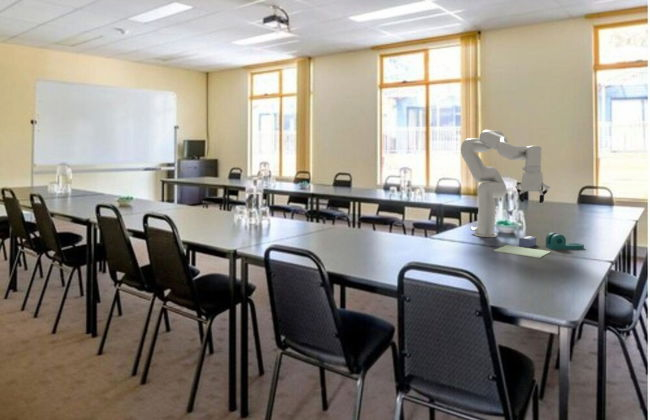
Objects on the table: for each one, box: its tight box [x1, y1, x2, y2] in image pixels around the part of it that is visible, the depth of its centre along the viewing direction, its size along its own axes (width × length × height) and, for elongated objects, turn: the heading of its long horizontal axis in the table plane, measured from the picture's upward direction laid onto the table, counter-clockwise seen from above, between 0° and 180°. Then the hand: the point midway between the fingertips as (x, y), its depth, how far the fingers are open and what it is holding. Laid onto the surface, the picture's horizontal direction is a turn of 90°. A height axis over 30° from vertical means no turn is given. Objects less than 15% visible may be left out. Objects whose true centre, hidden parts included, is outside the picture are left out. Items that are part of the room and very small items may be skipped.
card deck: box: [518, 235, 537, 248], centre depth 249 cm, size 6×9×5 cm, turn 136°
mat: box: [492, 244, 551, 259], centre depth 233 cm, size 22×18×1 cm
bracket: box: [545, 231, 585, 251], centre depth 243 cm, size 18×7×8 cm, turn 93°
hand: (531, 202), depth 247 cm, fingers open, 9 cm apart
